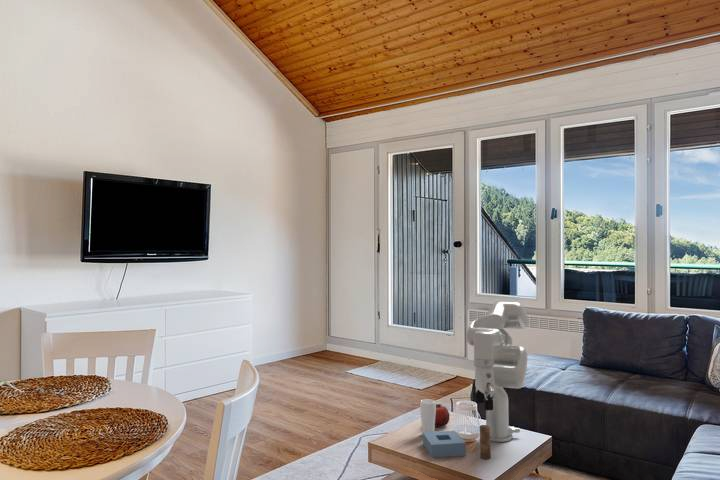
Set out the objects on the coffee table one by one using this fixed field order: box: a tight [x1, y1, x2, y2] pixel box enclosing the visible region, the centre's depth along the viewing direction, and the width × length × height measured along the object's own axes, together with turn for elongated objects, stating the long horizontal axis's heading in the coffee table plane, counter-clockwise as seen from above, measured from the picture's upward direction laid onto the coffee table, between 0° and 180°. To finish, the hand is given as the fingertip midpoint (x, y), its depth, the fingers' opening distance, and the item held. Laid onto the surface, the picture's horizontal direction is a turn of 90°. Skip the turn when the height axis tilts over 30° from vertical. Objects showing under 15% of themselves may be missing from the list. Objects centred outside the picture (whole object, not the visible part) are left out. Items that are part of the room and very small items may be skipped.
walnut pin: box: [479, 424, 492, 460], centre depth 207 cm, size 4×4×12 cm
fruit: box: [435, 403, 450, 427], centre depth 243 cm, size 11×10×10 cm
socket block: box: [422, 430, 467, 458], centre depth 215 cm, size 14×14×5 cm
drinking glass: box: [419, 398, 437, 435], centre depth 232 cm, size 7×7×15 cm
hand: (484, 406), depth 207 cm, fingers open, 9 cm apart
